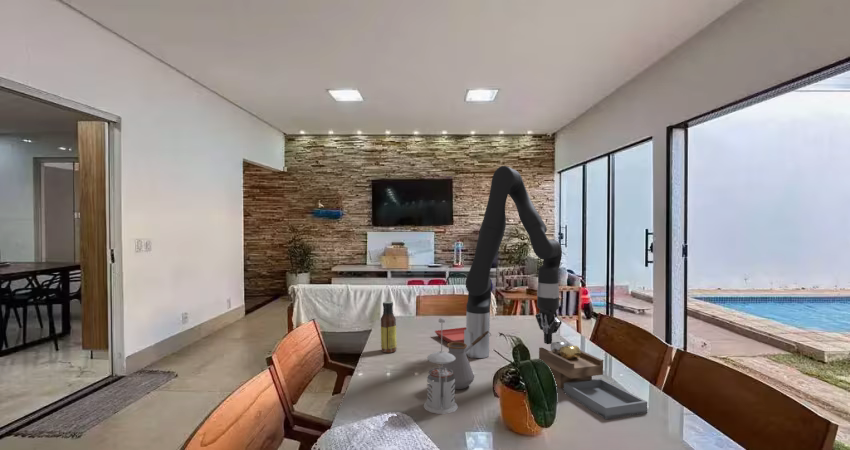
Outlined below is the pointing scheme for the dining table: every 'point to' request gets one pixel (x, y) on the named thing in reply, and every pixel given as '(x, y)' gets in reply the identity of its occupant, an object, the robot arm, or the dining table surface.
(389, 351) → the sauce bottle
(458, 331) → the plant saucer
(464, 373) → the coffee pot
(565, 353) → the brass slug
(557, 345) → the steel slug
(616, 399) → the grey tray
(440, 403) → the french press
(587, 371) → the brown open channel
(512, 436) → the dining table surface
